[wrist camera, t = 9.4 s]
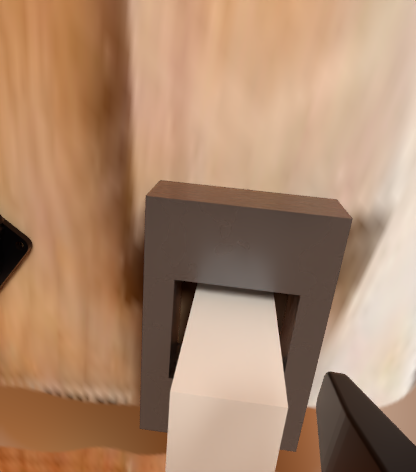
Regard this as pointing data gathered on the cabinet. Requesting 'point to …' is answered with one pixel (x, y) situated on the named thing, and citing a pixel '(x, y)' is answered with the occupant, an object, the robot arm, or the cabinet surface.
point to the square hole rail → (238, 277)
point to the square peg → (228, 385)
